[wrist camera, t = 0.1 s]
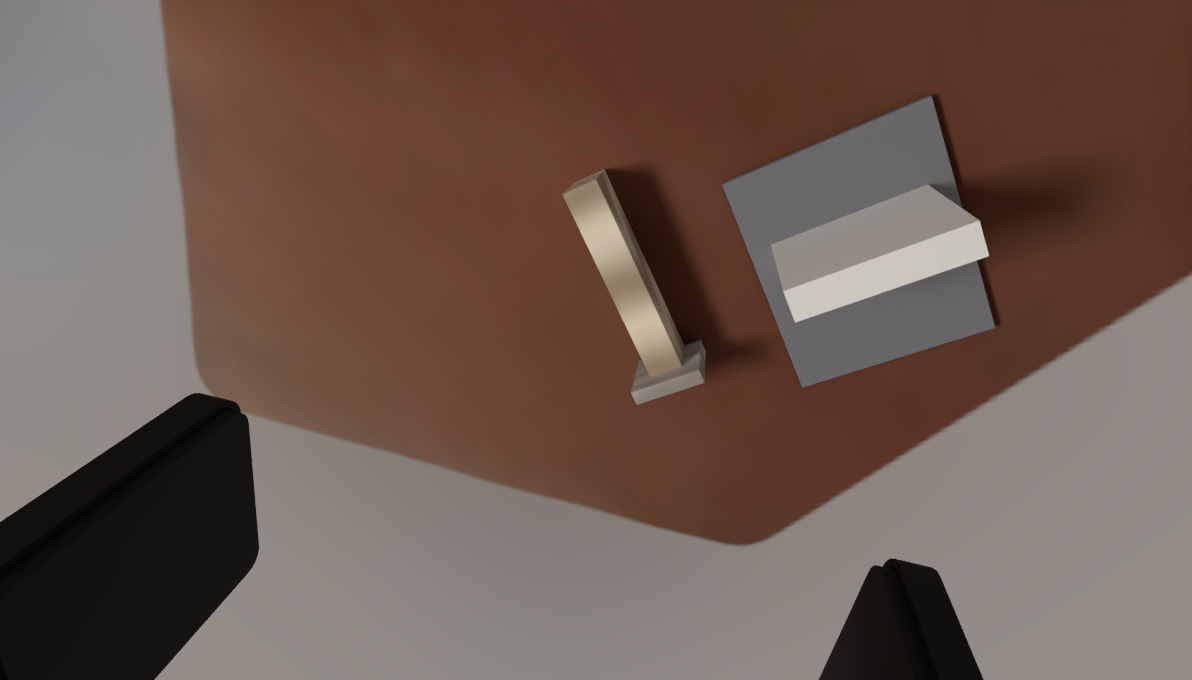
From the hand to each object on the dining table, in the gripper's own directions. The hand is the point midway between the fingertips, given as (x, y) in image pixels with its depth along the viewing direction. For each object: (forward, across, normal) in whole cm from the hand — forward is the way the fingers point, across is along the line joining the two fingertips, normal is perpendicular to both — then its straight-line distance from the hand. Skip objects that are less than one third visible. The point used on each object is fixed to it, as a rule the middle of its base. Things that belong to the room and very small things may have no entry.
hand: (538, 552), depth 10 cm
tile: (+37, -12, +2) cm, 39 cm away
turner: (+37, +2, +8) cm, 38 cm away
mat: (+37, -13, +4) cm, 40 cm away
